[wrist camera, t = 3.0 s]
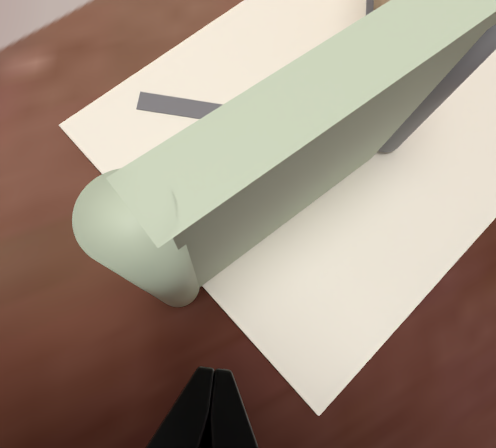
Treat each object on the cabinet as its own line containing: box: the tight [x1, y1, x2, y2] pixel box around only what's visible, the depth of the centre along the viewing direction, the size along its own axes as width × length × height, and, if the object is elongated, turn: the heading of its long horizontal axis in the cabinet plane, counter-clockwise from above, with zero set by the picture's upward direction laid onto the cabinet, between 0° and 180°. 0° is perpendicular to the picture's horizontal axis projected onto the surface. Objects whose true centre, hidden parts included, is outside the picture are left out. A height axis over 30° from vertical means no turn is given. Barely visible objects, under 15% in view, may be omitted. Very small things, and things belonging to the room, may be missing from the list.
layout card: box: [59, 0, 496, 416], centre depth 20 cm, size 18×23×1 cm
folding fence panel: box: [72, 0, 496, 307], centre depth 13 cm, size 14×2×10 cm, turn 128°
